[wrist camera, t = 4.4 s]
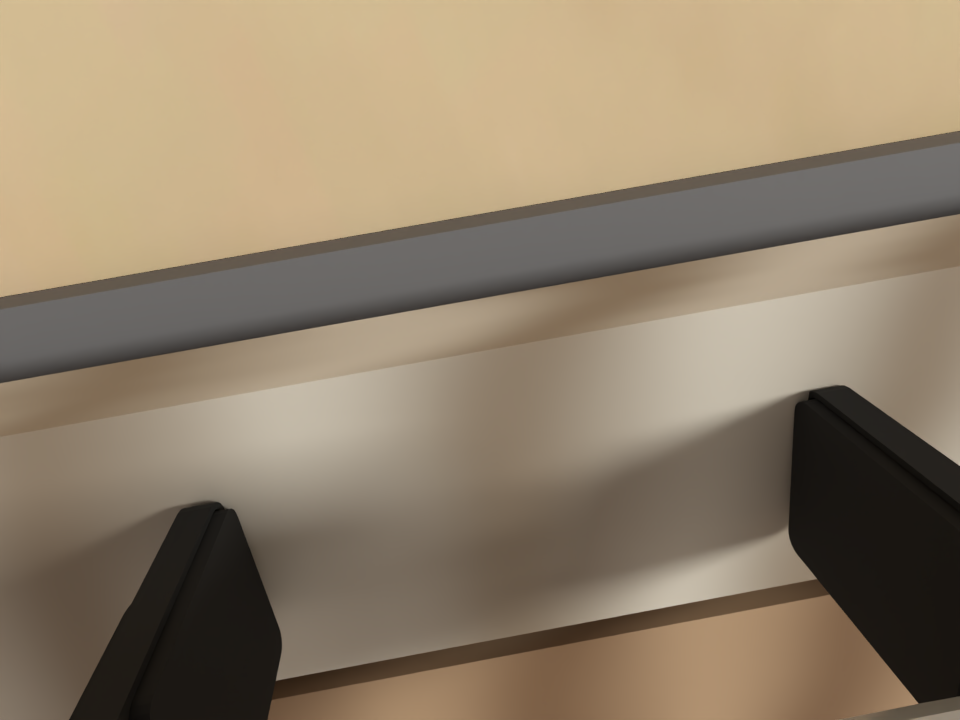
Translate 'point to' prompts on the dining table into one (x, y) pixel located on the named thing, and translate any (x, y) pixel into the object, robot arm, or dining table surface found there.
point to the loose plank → (469, 454)
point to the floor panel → (508, 269)
